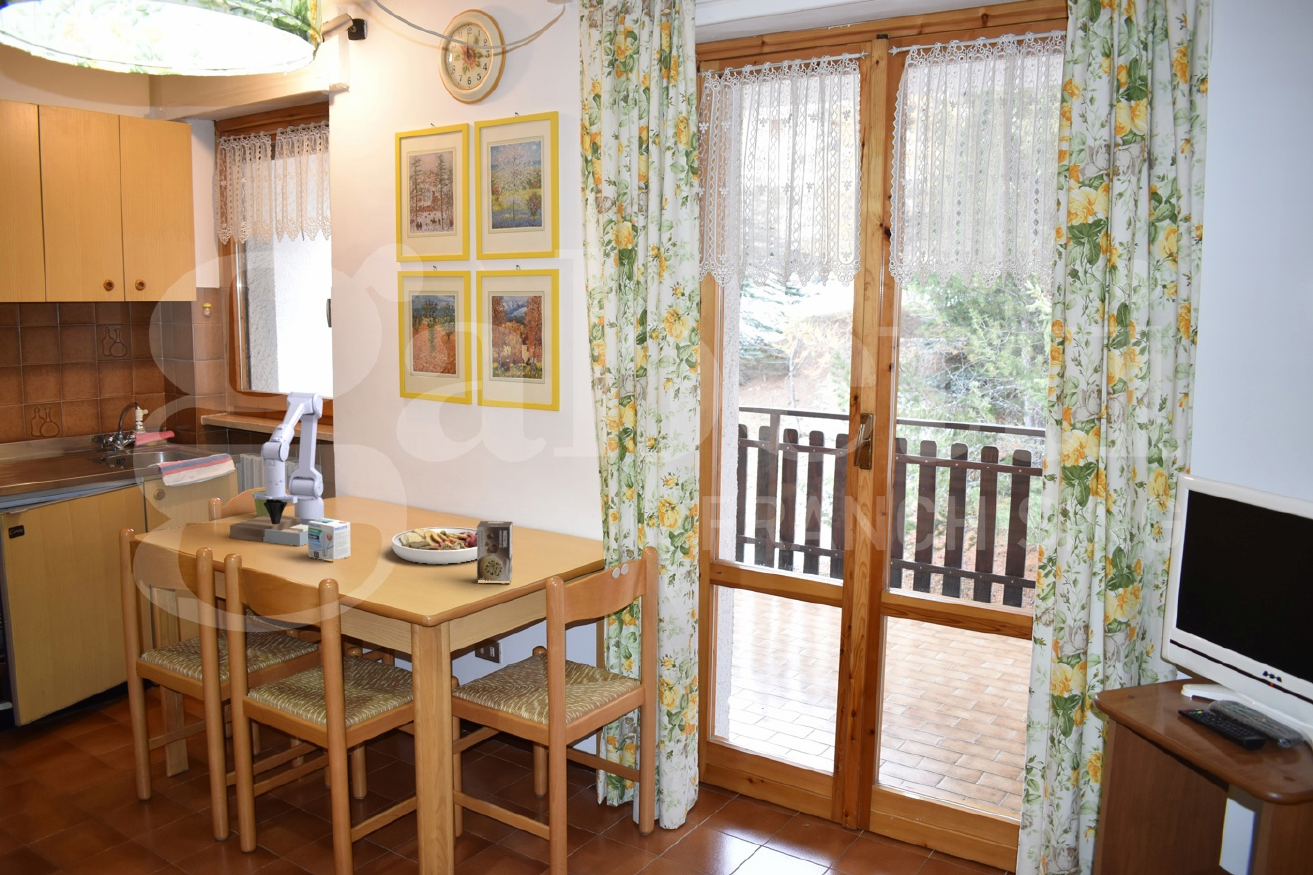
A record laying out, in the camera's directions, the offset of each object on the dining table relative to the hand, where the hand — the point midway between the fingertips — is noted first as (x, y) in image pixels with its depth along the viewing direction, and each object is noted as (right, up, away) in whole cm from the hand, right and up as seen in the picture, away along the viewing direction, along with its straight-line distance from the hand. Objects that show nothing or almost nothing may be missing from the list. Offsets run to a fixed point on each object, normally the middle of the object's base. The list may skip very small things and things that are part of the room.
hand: (275, 523), depth 293 cm
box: (+6, -5, +4) cm, 9 cm away
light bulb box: (+23, -9, -17) cm, 30 cm away
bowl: (+54, -9, -8) cm, 55 cm away
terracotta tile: (+4, -2, -1) cm, 4 cm away
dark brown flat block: (-6, -4, +8) cm, 11 cm away
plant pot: (-15, -1, +30) cm, 34 cm away
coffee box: (+74, -13, -34) cm, 82 cm away
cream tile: (+6, -2, +6) cm, 9 cm away
